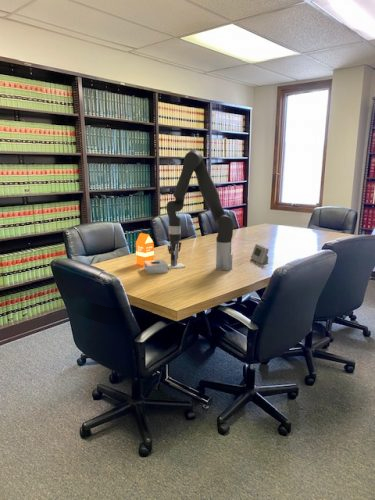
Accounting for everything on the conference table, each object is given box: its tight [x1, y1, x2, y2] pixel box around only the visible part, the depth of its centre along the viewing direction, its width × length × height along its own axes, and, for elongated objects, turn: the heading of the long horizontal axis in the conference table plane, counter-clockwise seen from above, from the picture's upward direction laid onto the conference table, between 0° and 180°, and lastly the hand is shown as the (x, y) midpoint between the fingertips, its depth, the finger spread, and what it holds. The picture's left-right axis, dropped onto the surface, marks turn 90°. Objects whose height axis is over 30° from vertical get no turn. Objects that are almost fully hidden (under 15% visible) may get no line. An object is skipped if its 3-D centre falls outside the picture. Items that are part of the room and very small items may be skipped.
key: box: [170, 248, 179, 266], centre depth 233 cm, size 4×4×11 cm
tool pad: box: [167, 262, 186, 270], centre depth 234 cm, size 10×8×1 cm
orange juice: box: [135, 232, 155, 266], centre depth 239 cm, size 8×9×20 cm
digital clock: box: [250, 243, 269, 265], centre depth 243 cm, size 16×9×11 cm, turn 4°
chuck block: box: [143, 259, 169, 275], centre depth 225 cm, size 12×12×5 cm
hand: (174, 259), depth 233 cm, fingers open, 3 cm apart
